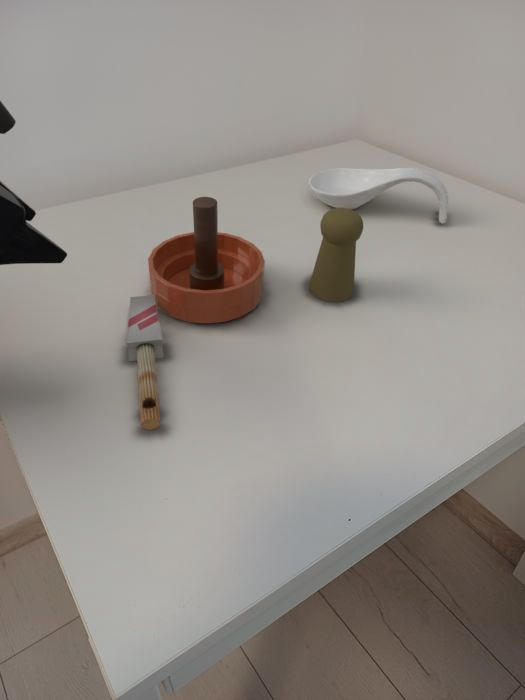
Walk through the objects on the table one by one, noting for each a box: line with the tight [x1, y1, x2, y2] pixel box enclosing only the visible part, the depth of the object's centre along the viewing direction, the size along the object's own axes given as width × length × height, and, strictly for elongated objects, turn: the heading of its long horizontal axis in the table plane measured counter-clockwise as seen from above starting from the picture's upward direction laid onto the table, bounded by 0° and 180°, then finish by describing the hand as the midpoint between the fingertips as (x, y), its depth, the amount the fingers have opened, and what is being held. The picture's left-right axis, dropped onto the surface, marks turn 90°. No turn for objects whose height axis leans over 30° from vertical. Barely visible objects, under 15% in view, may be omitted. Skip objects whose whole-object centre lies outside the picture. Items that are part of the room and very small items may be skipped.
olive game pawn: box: [308, 208, 364, 303], centre depth 65 cm, size 6×6×11 cm
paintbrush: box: [126, 294, 165, 431], centre depth 56 cm, size 4×3×20 cm
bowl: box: [147, 231, 266, 324], centre depth 65 cm, size 14×14×5 cm
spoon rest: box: [307, 167, 449, 225], centre depth 86 cm, size 24×12×7 cm, turn 74°
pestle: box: [189, 196, 224, 290], centre depth 62 cm, size 4×4×12 cm
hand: (47, 236), depth 49 cm, fingers open, 9 cm apart
